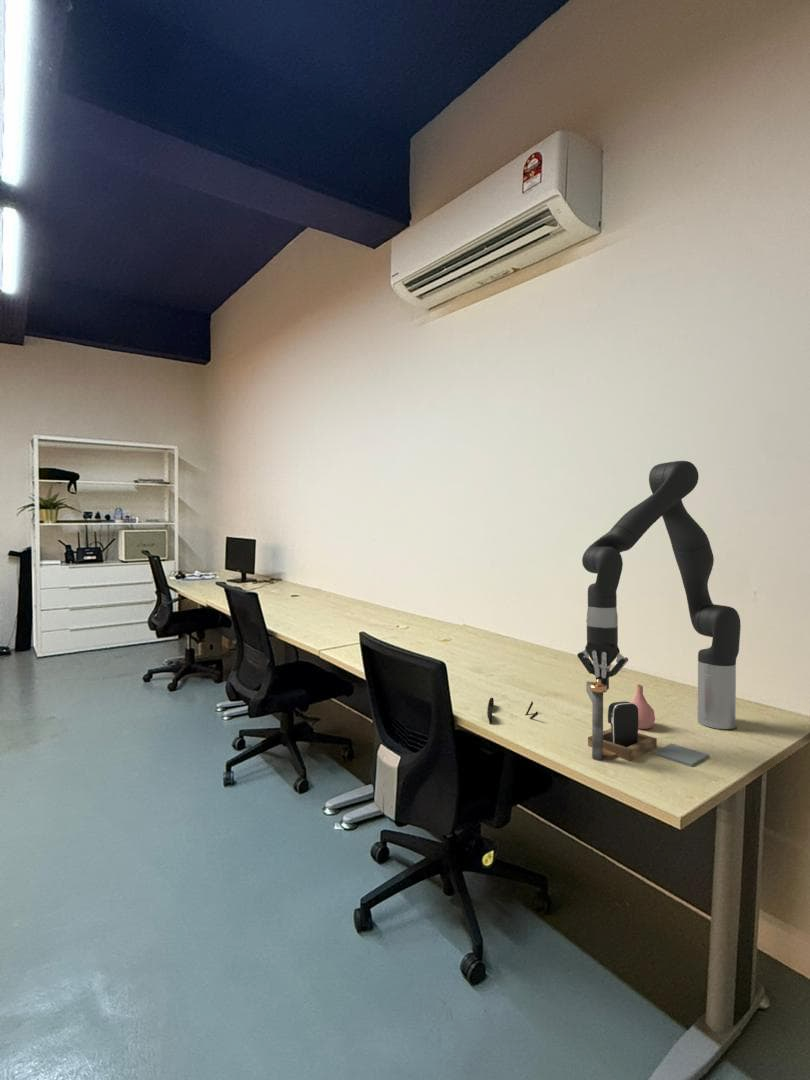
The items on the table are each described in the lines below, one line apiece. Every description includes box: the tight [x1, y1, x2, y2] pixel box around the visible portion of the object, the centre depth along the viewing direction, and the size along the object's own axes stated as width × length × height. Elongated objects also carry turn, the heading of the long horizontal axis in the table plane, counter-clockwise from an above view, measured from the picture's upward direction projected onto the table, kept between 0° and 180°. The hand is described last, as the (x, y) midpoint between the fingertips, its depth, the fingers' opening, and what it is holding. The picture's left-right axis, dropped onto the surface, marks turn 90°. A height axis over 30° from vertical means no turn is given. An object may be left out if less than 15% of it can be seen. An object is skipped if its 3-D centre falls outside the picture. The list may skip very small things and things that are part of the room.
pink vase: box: [630, 684, 656, 730], centre depth 152 cm, size 8×8×12 cm
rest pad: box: [653, 743, 710, 767], centre depth 133 cm, size 9×9×1 cm
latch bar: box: [585, 679, 608, 704], centre depth 136 cm, size 15×4×7 cm, turn 169°
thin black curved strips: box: [486, 697, 539, 725], centre depth 158 cm, size 17×14×5 cm
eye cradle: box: [587, 692, 658, 762], centre depth 136 cm, size 19×11×16 cm, turn 129°
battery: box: [607, 701, 639, 747], centre depth 138 cm, size 7×4×11 cm, turn 106°
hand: (602, 691), depth 142 cm, fingers closed
